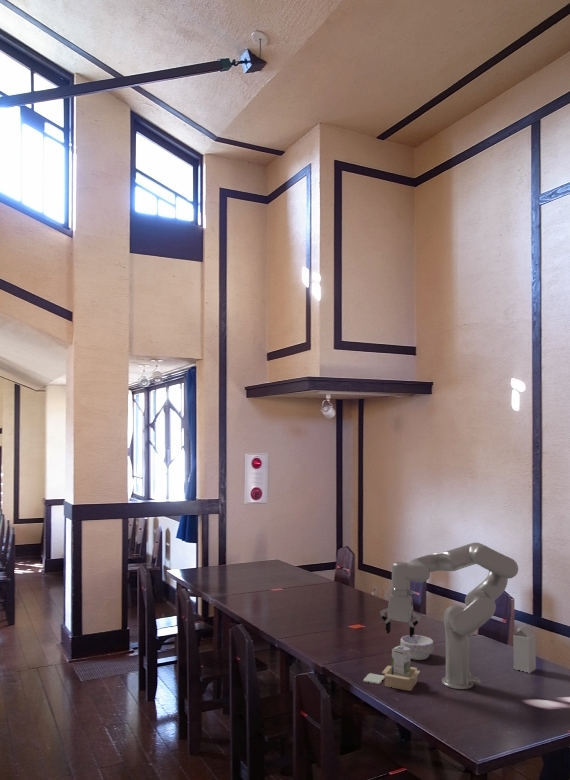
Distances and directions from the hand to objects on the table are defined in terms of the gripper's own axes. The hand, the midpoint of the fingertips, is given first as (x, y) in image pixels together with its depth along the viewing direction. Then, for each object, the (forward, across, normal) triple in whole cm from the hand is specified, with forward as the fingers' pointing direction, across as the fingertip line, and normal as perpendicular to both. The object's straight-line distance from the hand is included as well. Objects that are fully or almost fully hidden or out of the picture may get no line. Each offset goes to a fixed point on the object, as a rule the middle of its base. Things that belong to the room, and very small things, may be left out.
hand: (399, 634), depth 264 cm
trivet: (+20, +11, 0) cm, 23 cm away
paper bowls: (+20, +1, -37) cm, 42 cm away
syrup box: (+20, -1, 0) cm, 20 cm away
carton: (+20, -1, 0) cm, 20 cm away
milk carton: (+19, -46, -42) cm, 65 cm away
